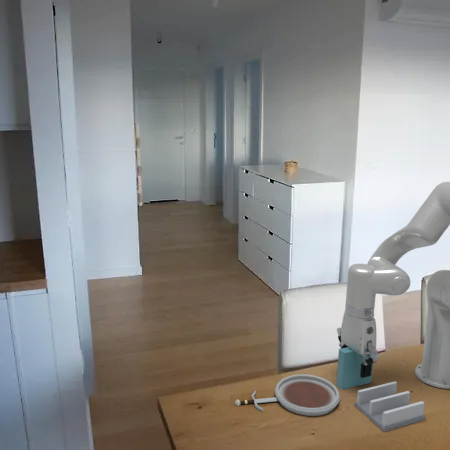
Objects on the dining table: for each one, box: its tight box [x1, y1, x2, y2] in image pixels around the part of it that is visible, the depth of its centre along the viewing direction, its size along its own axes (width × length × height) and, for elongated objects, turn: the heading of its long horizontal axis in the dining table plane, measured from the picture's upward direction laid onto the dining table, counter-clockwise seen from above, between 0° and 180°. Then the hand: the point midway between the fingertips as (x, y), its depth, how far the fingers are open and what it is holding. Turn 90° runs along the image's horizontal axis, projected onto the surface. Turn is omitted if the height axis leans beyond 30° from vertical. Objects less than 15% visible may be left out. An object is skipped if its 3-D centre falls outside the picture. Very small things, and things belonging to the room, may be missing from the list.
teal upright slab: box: [336, 347, 374, 390], centre depth 131 cm, size 10×2×11 cm, turn 112°
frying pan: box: [234, 373, 341, 417], centre depth 125 cm, size 17×3×28 cm
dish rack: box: [354, 381, 426, 433], centre depth 119 cm, size 13×11×4 cm
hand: (354, 368), depth 132 cm, fingers open, 8 cm apart
